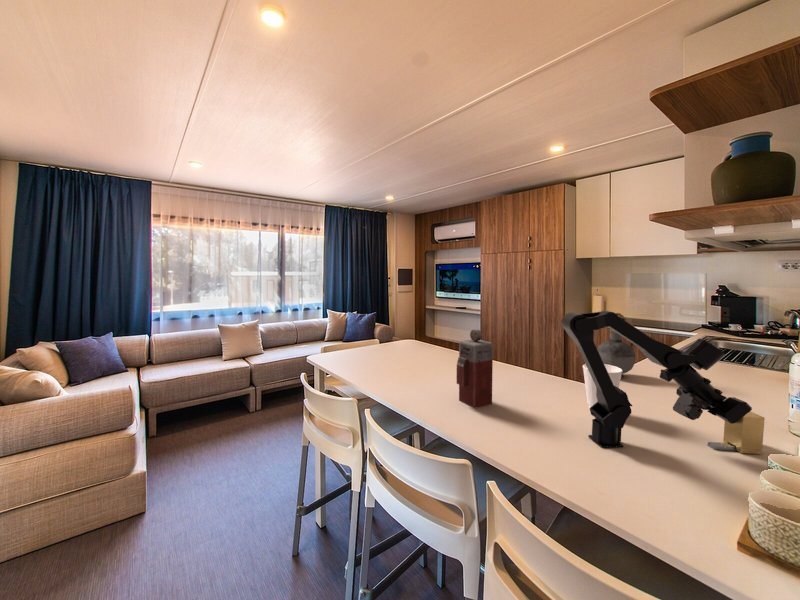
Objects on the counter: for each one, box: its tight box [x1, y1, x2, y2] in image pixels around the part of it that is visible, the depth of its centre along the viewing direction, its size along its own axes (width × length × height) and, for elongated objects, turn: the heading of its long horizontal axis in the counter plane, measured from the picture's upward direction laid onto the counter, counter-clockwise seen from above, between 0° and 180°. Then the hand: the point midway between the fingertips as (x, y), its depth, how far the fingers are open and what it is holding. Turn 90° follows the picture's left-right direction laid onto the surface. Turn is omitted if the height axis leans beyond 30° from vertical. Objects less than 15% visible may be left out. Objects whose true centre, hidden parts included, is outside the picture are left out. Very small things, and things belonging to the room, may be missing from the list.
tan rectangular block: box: [722, 410, 766, 455], centre depth 91 cm, size 5×6×10 cm
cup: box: [582, 364, 623, 412], centre depth 115 cm, size 12×12×16 cm
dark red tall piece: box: [456, 328, 494, 409], centre depth 125 cm, size 9×11×28 cm
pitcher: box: [597, 312, 636, 379], centre depth 156 cm, size 11×19×30 cm, turn 102°
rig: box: [707, 441, 738, 452], centre depth 94 cm, size 13×9×6 cm, turn 83°
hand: (732, 421), depth 91 cm, fingers closed, pressing on tan rectangular block
